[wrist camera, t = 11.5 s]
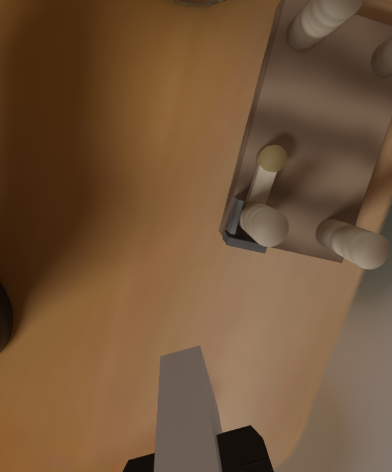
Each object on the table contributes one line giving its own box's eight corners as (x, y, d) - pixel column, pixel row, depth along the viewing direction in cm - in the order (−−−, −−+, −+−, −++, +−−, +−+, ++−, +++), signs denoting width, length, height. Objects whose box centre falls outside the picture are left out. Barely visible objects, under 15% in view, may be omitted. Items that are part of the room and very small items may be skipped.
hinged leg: (258, 141, 33) (282, 135, 26) (287, 151, 33) (319, 148, 26) (230, 224, 35) (246, 241, 27) (258, 232, 35) (281, 251, 28)
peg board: (328, 257, 40) (384, 291, 29) (218, 232, 38) (236, 259, 28) (399, 45, 35) (496, -5, 25) (277, 6, 33) (325, -65, 23)
